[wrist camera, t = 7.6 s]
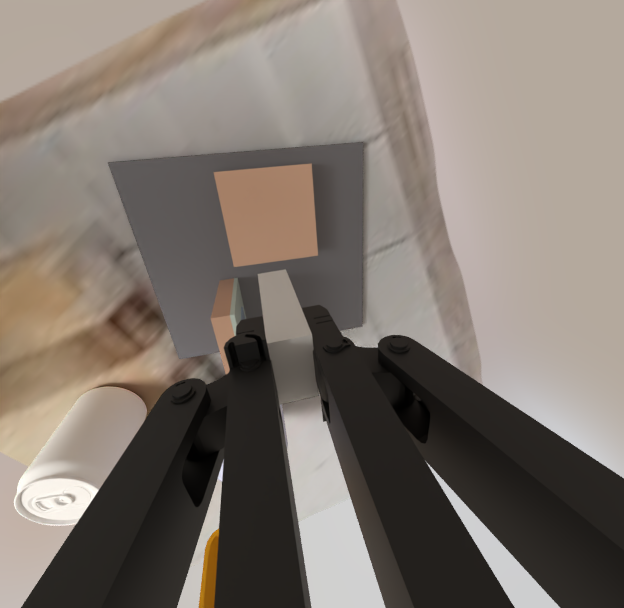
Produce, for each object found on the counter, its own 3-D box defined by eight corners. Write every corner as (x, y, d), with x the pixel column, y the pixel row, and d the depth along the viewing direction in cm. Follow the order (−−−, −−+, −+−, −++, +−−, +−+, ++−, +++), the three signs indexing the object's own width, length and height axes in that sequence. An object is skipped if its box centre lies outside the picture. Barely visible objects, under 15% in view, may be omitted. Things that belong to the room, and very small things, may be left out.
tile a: (233, 267, 29) (318, 255, 31) (213, 172, 25) (311, 163, 27) (234, 261, 31) (313, 250, 33) (215, 171, 27) (307, 163, 29)
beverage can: (156, 421, 40) (123, 515, 29) (93, 434, 38) (35, 537, 28) (136, 377, 36) (89, 466, 25) (65, 390, 35) (-14, 488, 24)
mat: (180, 356, 36) (179, 359, 35) (110, 162, 26) (107, 162, 25) (360, 324, 39) (362, 326, 39) (361, 142, 29) (363, 141, 29)
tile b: (235, 345, 36) (232, 396, 28) (219, 280, 32) (210, 318, 24) (252, 342, 36) (254, 392, 28) (239, 277, 32) (236, 314, 24)
